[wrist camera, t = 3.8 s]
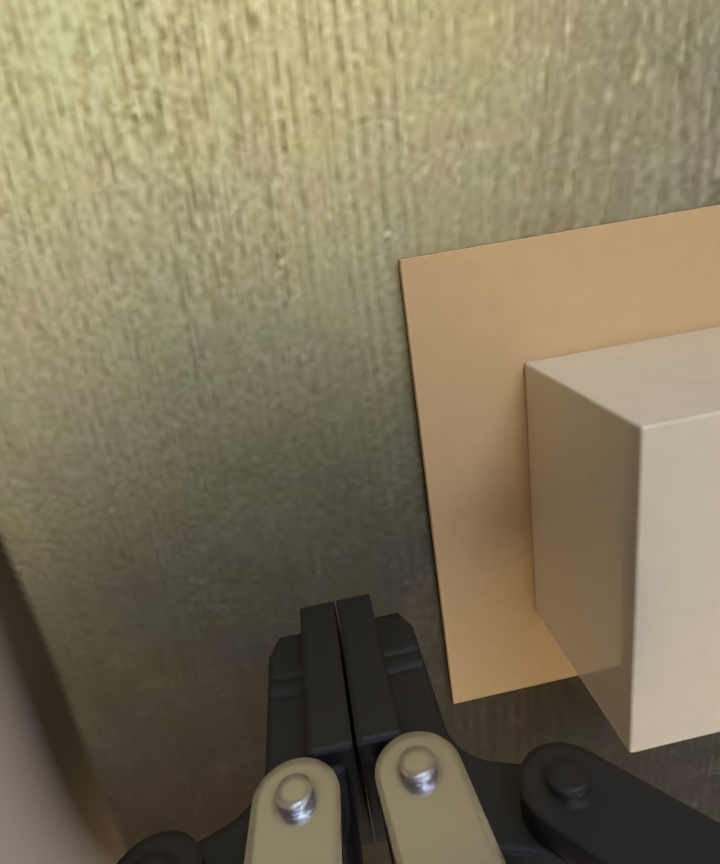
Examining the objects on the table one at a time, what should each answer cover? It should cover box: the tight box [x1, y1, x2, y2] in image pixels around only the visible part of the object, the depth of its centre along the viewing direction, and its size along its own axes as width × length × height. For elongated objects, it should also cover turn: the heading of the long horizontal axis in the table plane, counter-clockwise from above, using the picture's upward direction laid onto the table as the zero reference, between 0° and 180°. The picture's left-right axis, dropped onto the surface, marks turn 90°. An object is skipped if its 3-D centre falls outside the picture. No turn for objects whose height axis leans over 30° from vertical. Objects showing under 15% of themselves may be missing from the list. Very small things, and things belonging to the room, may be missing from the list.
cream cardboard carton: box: [525, 326, 720, 753], centre depth 14 cm, size 6×8×5 cm
